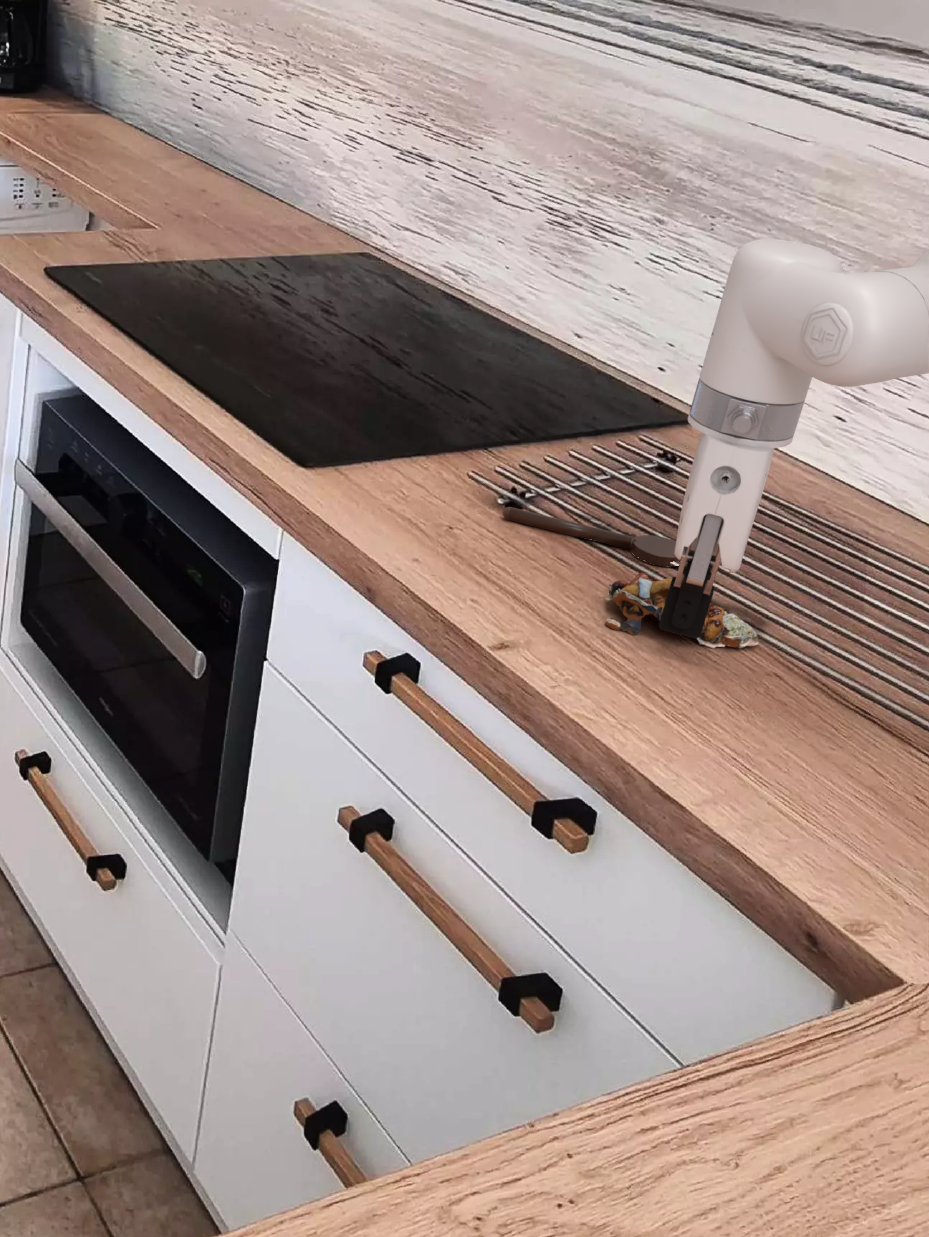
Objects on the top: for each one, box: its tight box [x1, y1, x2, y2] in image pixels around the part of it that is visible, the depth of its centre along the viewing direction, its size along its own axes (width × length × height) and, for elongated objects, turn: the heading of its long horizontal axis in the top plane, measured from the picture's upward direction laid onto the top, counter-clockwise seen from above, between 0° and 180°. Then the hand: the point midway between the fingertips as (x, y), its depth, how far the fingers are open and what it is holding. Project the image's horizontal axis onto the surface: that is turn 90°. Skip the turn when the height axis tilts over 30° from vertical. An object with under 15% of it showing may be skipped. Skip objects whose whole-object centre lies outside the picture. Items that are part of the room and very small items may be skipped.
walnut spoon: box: [502, 506, 682, 567], centre depth 152 cm, size 16×5×1 cm, turn 66°
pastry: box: [604, 572, 759, 650], centre depth 137 cm, size 7×12×4 cm, turn 76°
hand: (679, 629), depth 134 cm, fingers closed
